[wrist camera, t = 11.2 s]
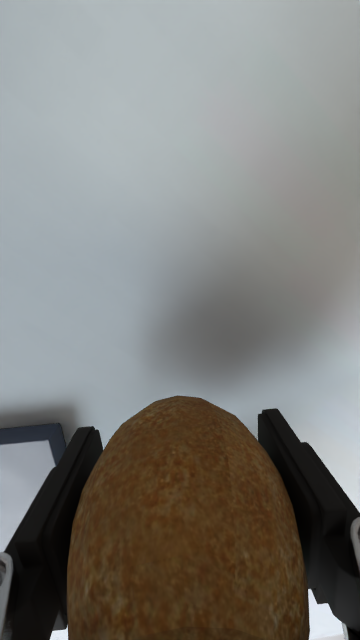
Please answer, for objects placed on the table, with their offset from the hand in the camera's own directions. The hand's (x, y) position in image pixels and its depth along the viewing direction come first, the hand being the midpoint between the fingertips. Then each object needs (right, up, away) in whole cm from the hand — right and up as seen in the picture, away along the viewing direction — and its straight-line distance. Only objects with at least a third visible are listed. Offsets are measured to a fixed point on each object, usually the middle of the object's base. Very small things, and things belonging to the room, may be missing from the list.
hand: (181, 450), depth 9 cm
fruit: (0, 0, +2) cm, 2 cm away
